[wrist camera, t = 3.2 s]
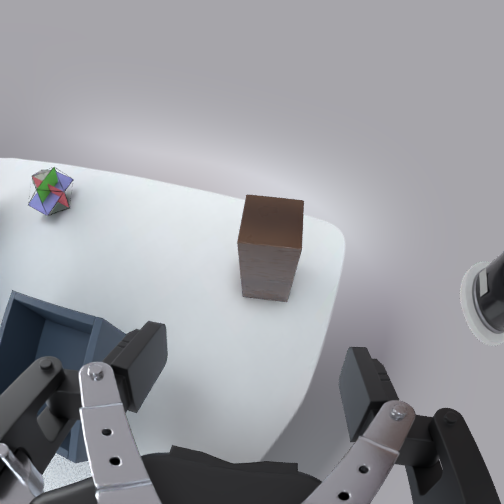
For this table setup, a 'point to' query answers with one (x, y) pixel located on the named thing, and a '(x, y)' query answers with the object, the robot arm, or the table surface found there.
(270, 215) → the block
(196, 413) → the table surface
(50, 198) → the geometric puzzle
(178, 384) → the table surface
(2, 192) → the table surface
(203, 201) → the table surface
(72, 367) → the bin
